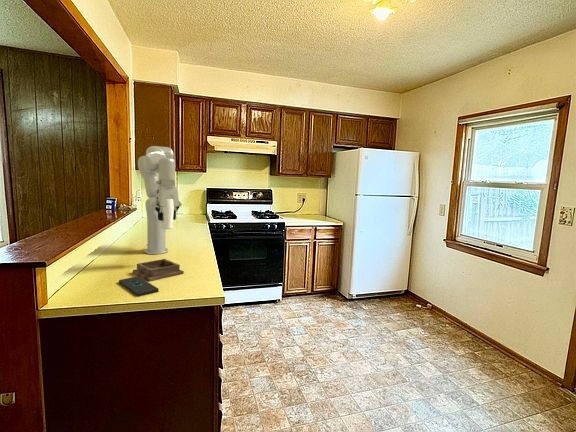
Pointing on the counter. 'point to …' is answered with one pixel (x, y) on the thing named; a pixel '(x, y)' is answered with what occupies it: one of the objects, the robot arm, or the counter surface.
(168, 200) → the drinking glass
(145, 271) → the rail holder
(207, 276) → the counter surface
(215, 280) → the counter surface
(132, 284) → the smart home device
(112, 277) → the counter surface
